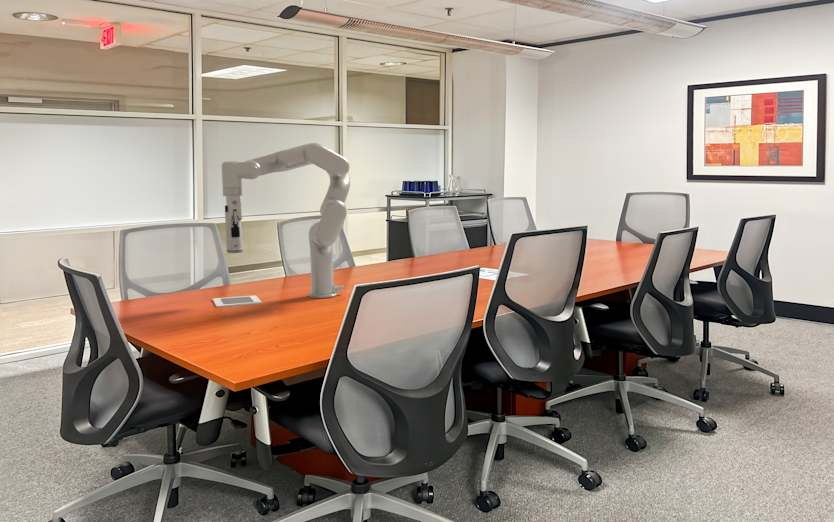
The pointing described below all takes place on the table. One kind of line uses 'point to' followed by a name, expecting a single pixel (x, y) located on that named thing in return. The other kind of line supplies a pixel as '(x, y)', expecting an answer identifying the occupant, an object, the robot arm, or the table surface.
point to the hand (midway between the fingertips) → (234, 235)
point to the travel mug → (232, 242)
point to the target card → (236, 301)
